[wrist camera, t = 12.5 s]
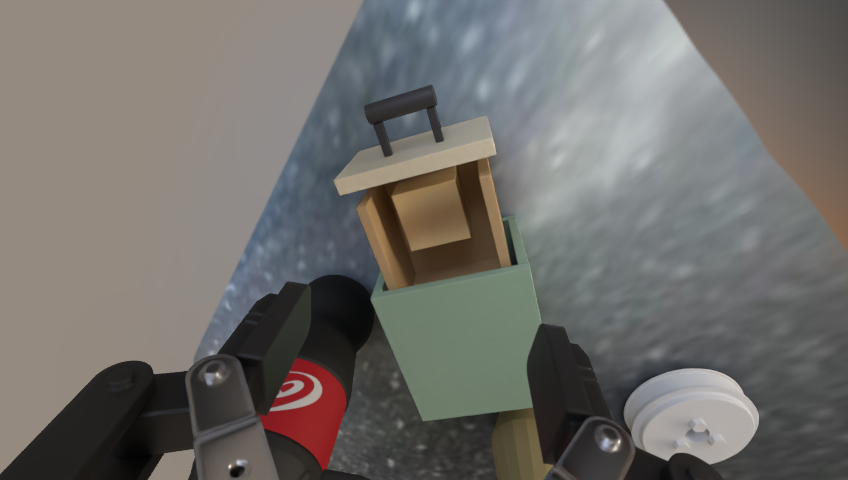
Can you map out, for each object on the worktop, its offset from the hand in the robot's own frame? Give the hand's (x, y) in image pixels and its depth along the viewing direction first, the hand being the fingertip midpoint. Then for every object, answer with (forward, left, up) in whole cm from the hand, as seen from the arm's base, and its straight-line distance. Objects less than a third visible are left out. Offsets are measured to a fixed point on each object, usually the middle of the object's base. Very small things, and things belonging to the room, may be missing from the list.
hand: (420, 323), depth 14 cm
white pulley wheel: (+36, +18, -24) cm, 47 cm away
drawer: (+3, -2, -23) cm, 23 cm away
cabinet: (+15, -2, -24) cm, 28 cm away
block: (+3, -2, -22) cm, 22 cm away
